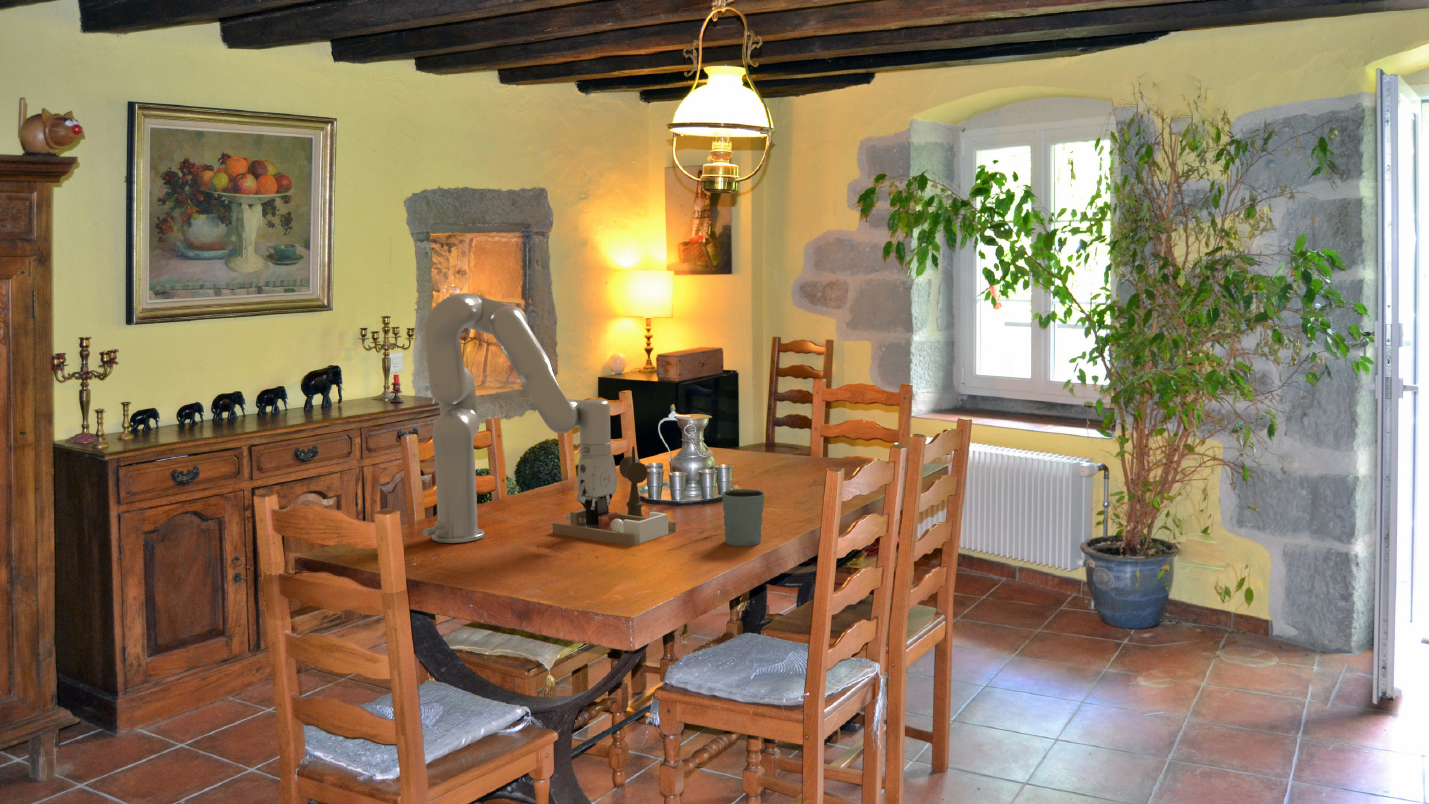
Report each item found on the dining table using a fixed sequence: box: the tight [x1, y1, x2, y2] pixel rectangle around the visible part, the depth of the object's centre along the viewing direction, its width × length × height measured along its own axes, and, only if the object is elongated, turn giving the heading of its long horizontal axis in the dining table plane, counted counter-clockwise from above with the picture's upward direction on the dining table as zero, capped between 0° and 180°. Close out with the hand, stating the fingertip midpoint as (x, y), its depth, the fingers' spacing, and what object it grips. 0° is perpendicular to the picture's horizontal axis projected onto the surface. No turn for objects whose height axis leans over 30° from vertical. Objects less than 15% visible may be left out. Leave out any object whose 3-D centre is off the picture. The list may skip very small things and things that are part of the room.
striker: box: [565, 498, 618, 531], centre depth 286 cm, size 6×14×7 cm, turn 55°
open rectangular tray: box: [552, 508, 677, 547], centre depth 281 cm, size 17×25×6 cm
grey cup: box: [721, 488, 765, 547], centre depth 274 cm, size 10×10×12 cm
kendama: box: [618, 445, 649, 517], centre depth 297 cm, size 6×10×20 cm, turn 16°
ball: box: [610, 519, 623, 532], centre depth 280 cm, size 4×4×4 cm
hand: (597, 522), depth 284 cm, fingers closed on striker, 3 cm apart
